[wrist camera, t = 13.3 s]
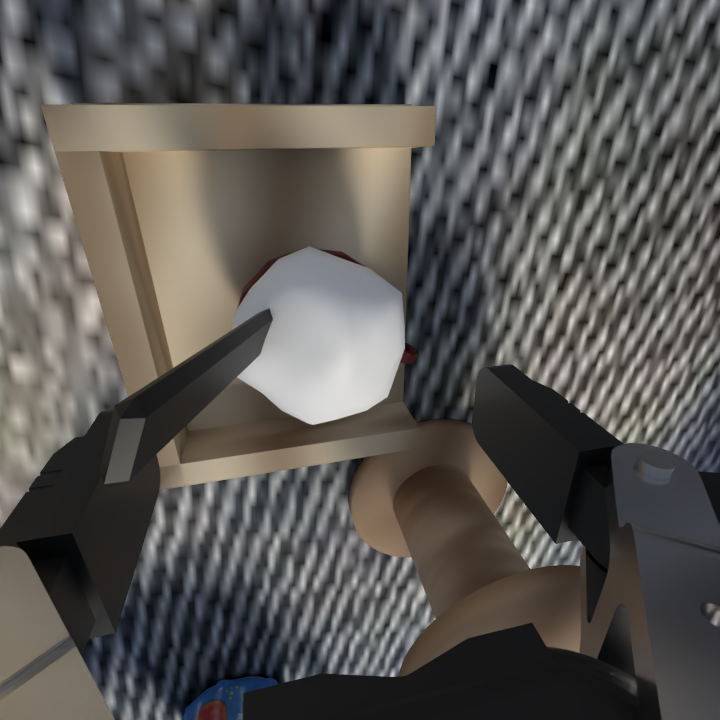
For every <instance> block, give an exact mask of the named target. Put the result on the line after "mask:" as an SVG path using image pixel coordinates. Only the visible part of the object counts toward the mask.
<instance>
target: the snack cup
mask: <svg viewBox="0 0 720 720" xmlns="http://www.w3.org/2000/svg"><path fill="white" fill-rule="evenodd" d="M277 684H278V682H277V680H275V679H273V678H271V677H269V678H263V677H257V676H249V677H243V678H239V679H234V680H220V681H219V682H218V683H217V684H216V685H214V686H212V687H210V688H209V689H207V690H206V691H204V692H203V693H201V694H200V695H199V696H198V697H197V698H196V699H195V700H194V701H193V702H192V703H191V704H190V705H189V706H187V707H186V710H185V714H184V716H183V719H182V720H243V693H245V692H249V691H253V690H257V689H261V688H265V687H269V686H273V685H277Z"/></svg>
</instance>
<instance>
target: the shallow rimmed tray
mask: <svg viewBox="0 0 720 720" xmlns="http://www.w3.org/2000/svg"><path fill="white" fill-rule="evenodd" d="M412 105H413V104H212V103H72V105H41V107H42V111H43V114H44V117H45V121H46V124H47V127H48V131H49V134H50V137H51V141H52V144H53V147H54V150H55V154H56V157H57V160H58V164H59V167H60V170H61V174H62V177H63V180H64V184H65V187H66V190H67V194H68V197H69V200H70V204H71V207H72V210H73V214H74V217H75V220H76V224H77V227H78V230H79V234H80V237H81V240H82V244H83V247H84V250H85V254H86V257H87V260H88V264H89V267H90V270H91V274H92V277H93V280H94V284H95V287H96V290H97V293H98V297H99V300H100V303H101V307H102V310H103V313H104V317H105V320H106V323H107V327H108V330H109V333H110V337H111V340H112V343H113V347H114V350H115V353H116V357H117V360H118V363H119V367H120V370H121V373H122V377H123V380H124V383H125V387H126V390H127V393H128V397H129V396H130V395H132V394H134V393H135V392H137V391H138V390H140V389H141V388H143V387H144V386H146V385H148V384H149V383H151V382H152V381H154V380H155V379H157V378H158V377H160V376H161V375H163V374H165V373H166V372H168V371H169V370H171V369H172V368H174V367H175V366H177V365H178V364H180V363H182V362H183V361H185V360H186V359H188V358H189V357H191V356H192V355H194V354H196V353H197V352H199V351H200V350H202V349H203V348H205V347H206V346H208V345H209V344H211V343H213V342H214V341H216V340H217V339H219V338H220V337H222V336H223V335H225V334H227V333H228V332H230V331H231V330H232V316H233V315H234V313H235V312H236V310H237V308H238V304H239V301H240V297H241V294H242V290H243V288H244V287H245V285H246V284H247V283H248V282H249V281H250V280H251V279H252V278H253V277H254V276H255V275H256V274H257V273H258V272H259V271H260V270H261V269H262V267H263V266H264V265H265V264H266V263H267V262H268V261H269V260H272V259H275V258H277V257H280V256H283V255H286V254H288V253H291V252H294V251H296V250H299V249H302V248H306V247H308V246H310V247H313V248H316V249H324V250H333V251H342V252H343V253H345V254H347V255H348V256H350V257H351V258H353V259H354V260H356V261H358V262H359V263H361V264H362V265H364V266H365V267H367V268H369V269H371V270H373V271H374V272H375V273H376V274H378V275H379V276H380V277H382V278H383V279H384V280H386V281H387V282H388V283H389V284H391V285H392V286H393V287H395V288H396V289H397V290H399V291H400V292H401V293H402V300H403V312H404V325H405V329H406V297H407V265H408V233H409V201H410V169H411V148H413V147H426V146H434V144H435V125H436V106H412ZM403 393H404V363H400V364H399V366H398V369H397V372H396V375H395V378H394V381H393V383H392V386H391V389H390V392H389V395H388V397H387V398H385V399H384V400H382V401H381V402H379V403H377V404H376V405H374V406H373V407H371V408H370V409H368V410H367V411H363V412H360V413H357V414H353V415H350V416H347V417H343V418H340V419H337V420H332V421H328V422H324V423H319V424H315V425H311V424H308V423H306V422H304V421H302V420H300V419H298V418H296V417H294V416H292V415H290V414H288V413H286V412H284V411H282V410H280V409H279V408H278V407H277V406H276V405H275V404H274V403H273V402H271V401H270V400H269V399H268V398H267V397H266V396H265V395H263V394H262V393H261V392H260V391H258V390H256V389H255V388H253V387H252V386H250V385H248V384H247V383H245V382H244V381H242V380H240V379H239V378H237V377H236V378H235V379H234V380H233V381H232V382H231V383H230V384H229V385H228V386H227V387H226V388H225V389H224V390H223V391H222V392H221V393H220V394H219V395H218V396H217V397H216V398H215V399H214V400H213V401H211V402H210V403H209V404H208V405H207V406H206V407H205V408H204V409H203V410H202V411H201V412H200V413H199V414H198V415H197V416H196V417H195V418H194V419H193V420H192V421H191V422H190V423H189V424H188V425H187V426H185V427H184V428H183V429H182V430H181V431H180V432H179V433H178V434H177V435H176V436H175V437H174V438H173V439H172V440H171V441H170V442H169V443H168V444H167V445H166V446H165V447H164V448H163V449H162V450H161V451H160V452H158V453H157V454H156V455H157V458H158V462H159V466H160V489H159V490H163V489H169V488H175V487H182V486H188V485H194V484H200V483H207V482H213V481H219V480H225V479H232V478H238V477H244V476H250V475H257V474H263V473H269V472H275V471H282V470H288V469H294V468H300V467H307V466H313V465H319V464H325V463H332V462H338V461H344V460H350V459H357V458H363V457H369V456H375V455H382V454H388V453H394V452H400V451H406V450H413V449H418V447H419V427H418V425H417V423H416V422H415V420H414V418H413V417H412V415H411V414H410V412H409V410H408V409H407V407H406V405H405V404H404V402H403Z"/></svg>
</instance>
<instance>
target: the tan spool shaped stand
mask: <svg viewBox="0 0 720 720" xmlns="http://www.w3.org/2000/svg"><path fill="white" fill-rule="evenodd" d="M417 425H418V427H419V447H418V449H413V450H406V451H400V452H394V453H388V454H382V455H375V456H369V457H365V458H364V459H363V461H362V462H361V463H360V465H359V466H358V468H357V470H356V472H355V474H354V476H353V479H352V482H351V485H350V490H349V507H350V511H351V515H352V519H353V522H354V525H355V528H356V530H357V532H358V534H359V535H360V537H361V538H362V539H363V540H364V541H365V542H366V543H367V544H368V545H369V546H371V547H372V548H374V549H375V550H377V551H380V552H382V553H384V554H388V555H392V556H398V557H412V559H413V562H414V564H415V567H416V569H417V572H418V574H419V577H420V580H421V582H422V585H423V587H424V590H425V592H426V595H427V597H428V600H429V602H430V605H431V608H432V610H433V613H434V615H435V618H436V620H434V621H433V622H432V623H431V624H430V625H429V626H428V627H427V628H426V629H425V630H424V631H423V633H422V634H421V635H420V636H419V637H418V638H417V640H416V641H415V642H414V644H413V645H412V647H411V648H410V650H409V651H408V653H407V655H406V657H405V659H404V661H403V663H402V666H401V669H400V673H399V677H402V676H406V675H408V674H410V673H412V672H413V671H415V670H417V669H418V668H420V667H422V666H423V665H425V664H426V663H428V662H430V661H431V660H433V659H435V658H436V657H438V656H440V655H441V654H443V653H445V652H446V651H448V650H449V649H451V648H453V647H454V646H456V645H458V644H459V643H461V642H463V641H464V640H466V639H467V638H471V637H475V636H479V635H483V634H487V633H491V632H495V631H499V630H504V629H508V628H512V627H516V626H520V625H524V624H528V623H533V625H534V626H535V628H536V630H537V631H538V633H539V635H540V636H541V638H542V640H543V642H544V643H545V645H546V646H547V647H556V648H561V649H567V650H571V651H575V652H578V653H579V649H580V639H581V592H580V566H573V565H558V566H547V567H541V568H536V569H531V570H530V568H529V567H528V565H527V564H526V562H525V561H524V559H523V558H522V556H521V555H520V553H519V552H518V550H517V549H516V547H515V546H514V544H513V543H512V541H511V540H510V538H509V537H508V535H507V534H506V532H505V531H504V529H503V528H502V526H501V525H500V523H499V522H498V520H497V519H496V517H495V516H494V513H495V511H496V510H497V508H498V507H499V505H500V503H501V501H502V499H503V497H504V494H505V491H506V487H507V483H508V482H507V480H506V479H505V478H504V476H503V475H502V474H501V473H500V471H499V470H498V469H497V467H496V466H495V465H494V463H493V462H492V461H491V460H490V458H489V457H488V456H487V454H486V453H485V452H484V451H483V449H482V448H481V447H480V445H479V444H478V442H477V441H476V438H475V436H474V432H473V426H472V424H470V423H467V422H464V421H460V420H454V419H434V420H427V421H423V422H419V423H417Z"/></svg>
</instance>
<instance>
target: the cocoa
mask: <svg viewBox="0 0 720 720" xmlns="http://www.w3.org/2000/svg"><path fill="white" fill-rule="evenodd" d="M417 355H418V352H417V351H416V350H415V349H414V348H413V347H412V346H410V345H408V344H407V343H405V325H404V312H403V300H402V293H401V292H400V291H399V290H397V289H396V288H395V287H393V286H392V285H391V284H389V283H388V282H387V281H386V280H384V279H383V278H382V277H380V276H379V275H378V274H376V273H375V272H374V271H373V270H371V269H369V268H367V267H365V266H364V265H362V264H361V263H359V262H358V261H356V260H354V259H353V258H351V257H350V256H348V255H347V254H345V253H343V252H342V251H333V250H324V249H316V248H313V247H310V246H308V247H306V248H302V249H299V250H296V251H294V252H291V253H288V254H286V255H283V256H280V257H277V258H275V259H272V260H269V261H268V262H267V263H266V264H265V265H264V266H263V267H262V269H261V270H260V271H259V272H258V273H257V274H256V275H255V276H254V277H253V278H252V279H251V280H250V281H249V282H248V283H247V284H246V285H245V287H244V288H243V290H242V294H241V297H240V301H239V304H238V308H237V310H236V312H235V313H234V315H233V316H232V330H231V331H230V332H228V333H227V334H225V335H223V336H222V337H220V338H219V339H217V340H216V341H214V342H213V343H211V344H209V345H208V346H206V347H205V348H203V349H202V350H200V351H199V352H197V353H196V354H194V355H192V356H191V357H189V358H188V359H186V360H185V361H183V362H182V363H180V364H178V365H177V366H175V367H174V368H172V369H171V370H169V371H168V372H166V373H165V374H163V375H161V376H160V377H158V378H157V379H155V380H154V381H152V382H151V383H149V384H148V385H146V386H144V387H143V388H141V389H140V390H138V391H137V392H135V393H134V394H132V395H130V396H129V397H127V398H126V399H124V400H123V401H121V402H120V403H118V404H117V405H115V407H114V411H113V416H112V420H111V424H110V428H109V432H108V437H107V441H106V445H105V449H104V453H103V458H102V462H101V466H100V472H101V475H102V479H103V482H104V484H105V485H107V486H110V487H113V486H116V485H119V484H121V483H124V482H127V481H129V480H130V479H131V478H132V477H134V476H135V475H136V474H137V473H138V472H139V471H140V470H141V469H142V468H143V467H144V466H145V465H146V464H147V463H148V462H149V461H150V460H151V459H152V458H153V457H154V456H155V455H156V454H157V453H158V452H160V451H161V450H162V449H163V448H164V447H165V446H166V445H167V444H168V443H169V442H170V441H171V440H172V439H173V438H174V437H175V436H176V435H177V434H178V433H179V432H180V431H181V430H182V429H183V428H184V427H185V426H187V425H188V424H189V423H190V422H191V421H192V420H193V419H194V418H195V417H196V416H197V415H198V414H199V413H200V412H201V411H202V410H203V409H204V408H205V407H206V406H207V405H208V404H209V403H210V402H211V401H213V400H214V399H215V398H216V397H217V396H218V395H219V394H220V393H221V392H222V391H223V390H224V389H225V388H226V387H227V386H228V385H229V384H230V383H231V382H232V381H233V380H234V379H235V378H236V377H237V378H239V379H240V380H242V381H244V382H245V383H247V384H248V385H250V386H252V387H253V388H255V389H256V390H258V391H260V392H261V393H262V394H263V395H265V396H266V397H267V398H268V399H269V400H270V401H271V402H273V403H274V404H275V405H276V406H277V407H278V408H279V409H280V410H282V411H284V412H286V413H288V414H290V415H292V416H294V417H296V418H298V419H300V420H302V421H304V422H306V423H308V424H311V425H315V424H319V423H324V422H328V421H332V420H337V419H340V418H343V417H347V416H350V415H353V414H357V413H360V412H363V411H367V410H368V409H370V408H371V407H373V406H374V405H376V404H377V403H379V402H381V401H382V400H384V399H385V398H387V397H388V395H389V392H390V389H391V386H392V383H393V381H394V378H395V375H396V372H397V369H398V366H399V364H400V363H404V364H413V363H414V362H415V360H416V358H417Z"/></svg>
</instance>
